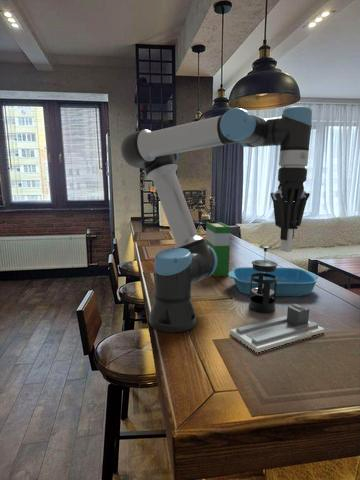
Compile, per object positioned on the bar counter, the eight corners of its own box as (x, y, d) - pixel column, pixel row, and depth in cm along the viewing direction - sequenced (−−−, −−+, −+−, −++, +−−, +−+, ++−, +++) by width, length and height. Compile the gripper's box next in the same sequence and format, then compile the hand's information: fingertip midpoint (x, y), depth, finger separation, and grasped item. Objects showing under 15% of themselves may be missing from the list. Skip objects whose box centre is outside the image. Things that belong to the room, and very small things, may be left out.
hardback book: (205, 266, 170) (206, 222, 165) (218, 266, 171) (220, 222, 166) (213, 276, 153) (215, 227, 148) (228, 275, 154) (230, 226, 149)
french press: (246, 302, 120) (249, 242, 116) (271, 302, 120) (275, 243, 116) (251, 314, 109) (255, 249, 105) (279, 315, 108) (284, 250, 104)
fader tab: (297, 327, 96) (299, 309, 95) (286, 321, 100) (288, 304, 99) (308, 324, 98) (309, 307, 97) (296, 319, 102) (298, 302, 101)
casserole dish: (231, 298, 125) (232, 281, 123) (225, 280, 147) (225, 265, 145) (326, 300, 124) (327, 282, 122) (305, 282, 146) (306, 267, 144)
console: (256, 353, 84) (257, 344, 84) (230, 334, 95) (230, 326, 94) (324, 333, 96) (324, 325, 96) (293, 318, 106) (294, 311, 106)
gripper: (285, 166, 81) (278, 255, 85) (320, 167, 87) (312, 251, 91) (265, 166, 87) (259, 250, 92) (299, 168, 93) (292, 246, 98)
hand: (285, 250), depth 92 cm, fingers closed
